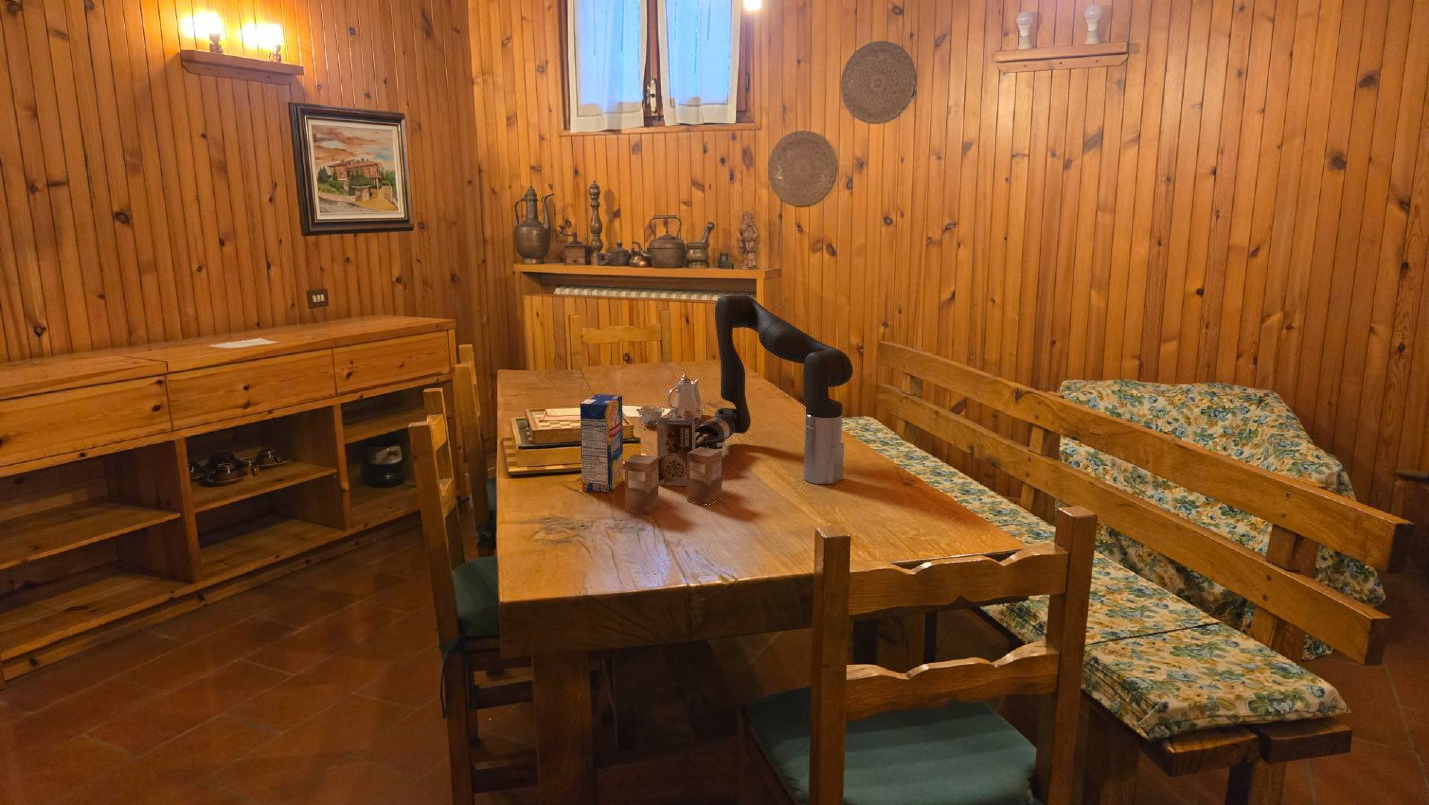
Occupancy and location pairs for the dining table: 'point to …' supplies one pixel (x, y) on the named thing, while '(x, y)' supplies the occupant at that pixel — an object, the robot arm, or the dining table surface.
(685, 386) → the chinaware
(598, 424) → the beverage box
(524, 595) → the dining table surface
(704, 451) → the marked block 2
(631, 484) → the marked block 1
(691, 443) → the coffee box
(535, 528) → the dining table surface
